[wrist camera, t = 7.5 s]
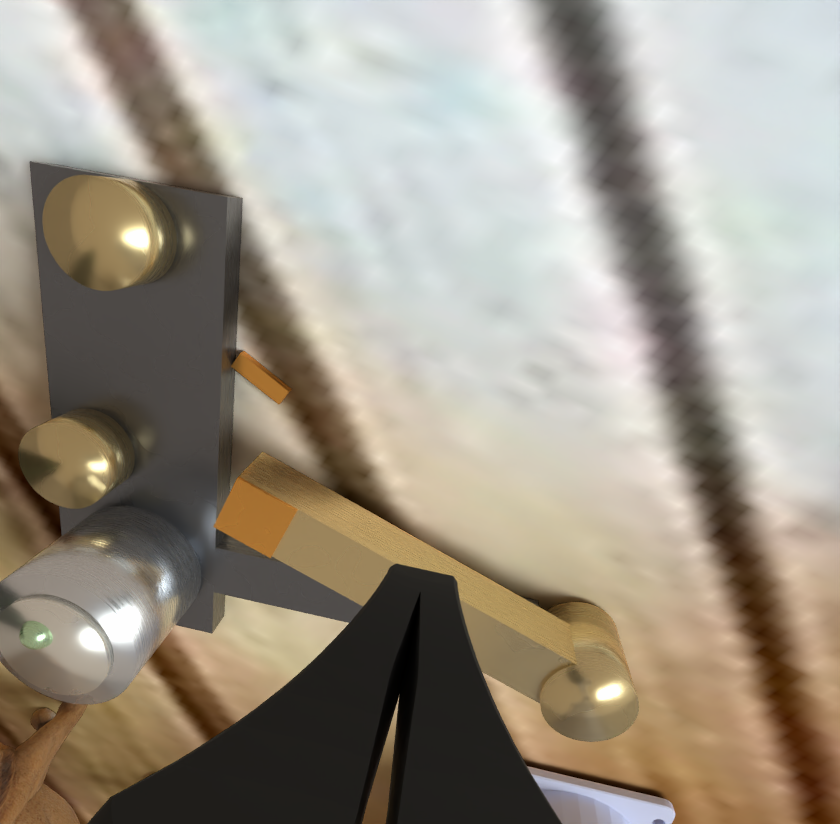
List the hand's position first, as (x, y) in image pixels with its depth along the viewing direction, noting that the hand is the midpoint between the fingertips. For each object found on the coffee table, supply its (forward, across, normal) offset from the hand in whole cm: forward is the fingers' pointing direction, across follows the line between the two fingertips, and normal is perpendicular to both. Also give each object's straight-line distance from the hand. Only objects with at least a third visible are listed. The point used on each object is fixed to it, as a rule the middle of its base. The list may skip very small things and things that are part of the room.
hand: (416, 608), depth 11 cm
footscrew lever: (+7, -1, +4) cm, 8 cm away
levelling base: (+8, +5, +1) cm, 9 cm away
